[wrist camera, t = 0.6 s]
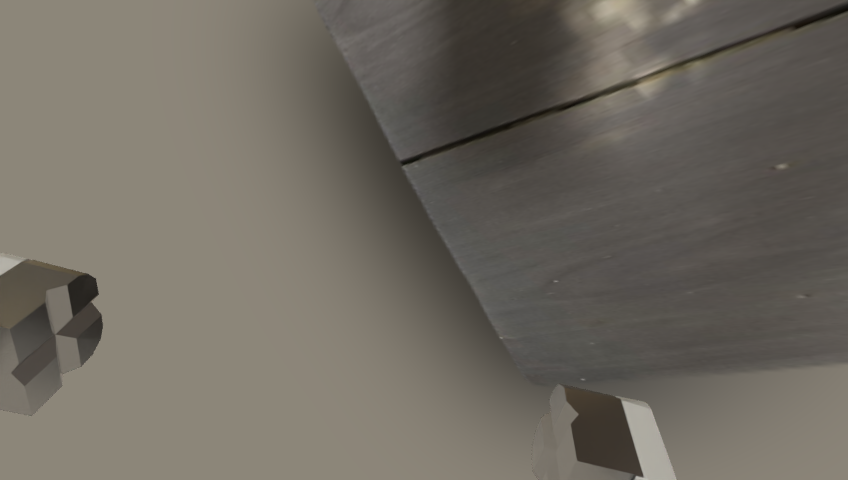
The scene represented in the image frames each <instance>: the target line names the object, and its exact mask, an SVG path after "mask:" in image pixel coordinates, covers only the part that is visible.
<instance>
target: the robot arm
mask: <svg viewBox="0 0 848 480" xmlns="http://www.w3.org/2000/svg"><path fill="white" fill-rule="evenodd" d="M98 295H99V293H98V287H97V282H96V278H94V277H92V276H91V275H89V274H87V273H82V272H79V271H75V270H71V269H67V268H63V267H60V266H55V265H52V264H48V263H44V262H40V261H36V260H29V259H26V258H22V257H18V256H14V255H11V254H7V253H1V254H0V410H4V411H9V412H14V413H19V414H24V415H29V416H32V415H33V414H34V413H35V412H36V411H37V410H38V409H39V408H40V407H41V406H43V404H44V403H46V402H47V400H49V398H50V397H52V396H53V394H54V393H56V391H57V390H59V389H60V388H61V387H62V376H63V374H64V373H66V372H69V371H72V370H74V369H77V368H79V367H81V366H82V365H83V364H84V363H85V362H86V361H87V360H88V359H89V358H90V356H92V355H93V353H94V351H95V349H96V347H97V345H98V343H99V341H100V339H101V335H102V329H103V322H102V315H101V313H100V312H99V311H98V310H97V309H96V307H95V306H94V305H93V304H92V301H93V300H94V299H95V298H96V297H97V296H98ZM549 402H550V409H551V412H550V413H548V414H546V415H544V416H542V417H541V418H540V421H539V423H538V426H537V428H536V431H535V436H534V441H533V445H532V468H533V473H534V474H535V476H536V477H537V478H538V480H677V478H676V475H675V473H674V470H673V468H672V465H671V462H670V459H669V456H668V454H667V451H666V448H665V446H664V443H663V440H662V437H661V435H660V432H659V429H658V426H657V424H656V421H655V418H654V416H653V413H652V410H651V408H650V406H649V405H648V404H647V403H646V402H643V401H638V400H633V399H628V398H623V397H619V396H616V397H615V396H612V395H608V394H603V393H599V392H594V391H590V390H586V389H581V388H577V387H572V386H568V385H563V384H558V385H557V386H556V387H555V388H554V390H553V392H552V394H551V397H550V399H549Z"/></svg>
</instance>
